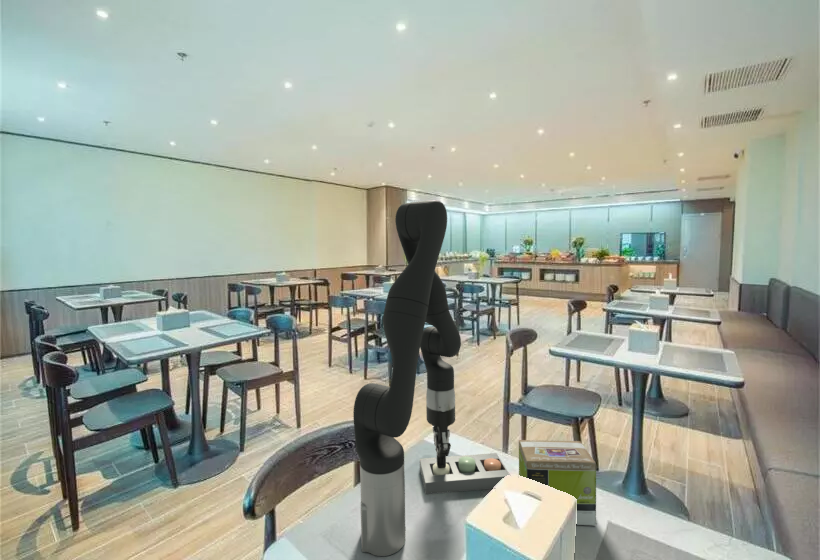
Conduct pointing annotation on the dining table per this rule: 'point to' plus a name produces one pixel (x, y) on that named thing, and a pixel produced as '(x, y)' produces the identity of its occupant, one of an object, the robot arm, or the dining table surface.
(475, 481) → the button panel
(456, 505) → the dining table surface
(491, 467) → the terracotta button
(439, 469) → the cream button
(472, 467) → the sage button
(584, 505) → the tea box
